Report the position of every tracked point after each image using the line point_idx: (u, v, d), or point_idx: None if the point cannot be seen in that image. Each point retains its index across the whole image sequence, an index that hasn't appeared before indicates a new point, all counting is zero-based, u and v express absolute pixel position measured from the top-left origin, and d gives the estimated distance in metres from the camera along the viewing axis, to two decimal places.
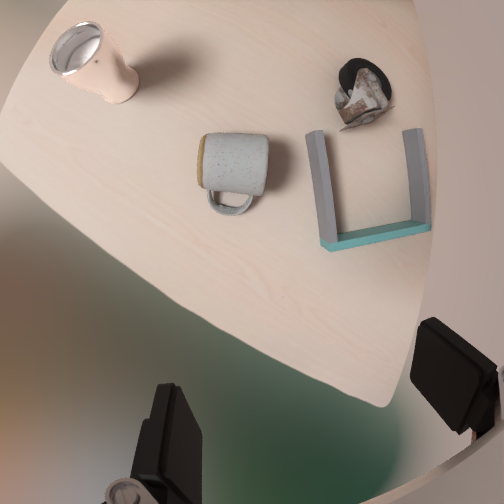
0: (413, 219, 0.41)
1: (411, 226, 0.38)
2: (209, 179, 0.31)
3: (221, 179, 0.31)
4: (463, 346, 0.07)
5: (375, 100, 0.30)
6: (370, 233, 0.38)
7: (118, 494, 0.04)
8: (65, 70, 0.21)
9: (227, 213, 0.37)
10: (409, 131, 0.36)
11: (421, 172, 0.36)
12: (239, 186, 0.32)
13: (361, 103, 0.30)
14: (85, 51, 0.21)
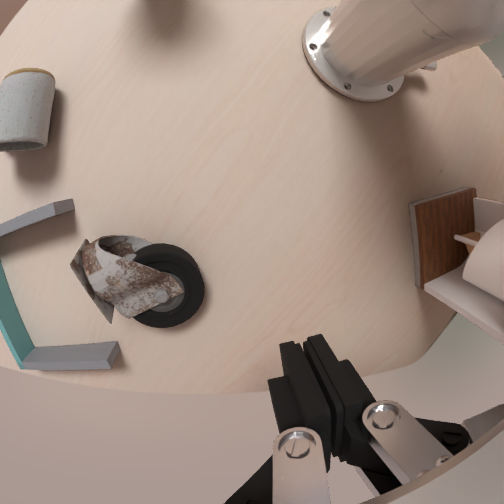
0: (33, 349, 0.28)
1: (13, 342, 0.25)
2: None
3: None
4: (333, 371, 0.08)
5: (106, 291, 0.22)
6: None
7: (287, 447, 0.06)
8: None
9: None
10: (109, 350, 0.28)
11: (62, 360, 0.26)
12: None
13: (94, 265, 0.21)
14: None
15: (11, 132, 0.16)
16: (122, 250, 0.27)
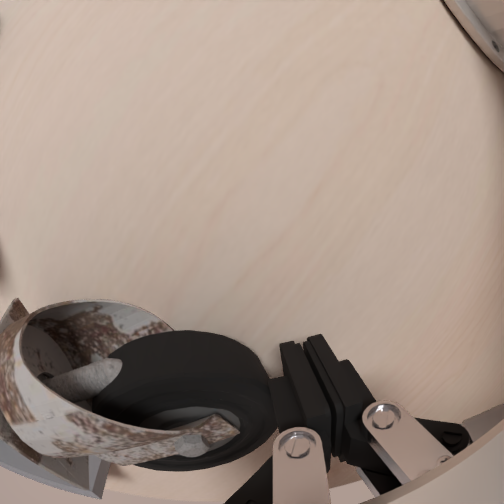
0: None
1: None
2: None
3: None
4: (333, 371, 0.08)
5: (63, 455, 0.06)
6: None
7: (287, 447, 0.06)
8: None
9: None
10: (94, 469, 0.12)
11: (26, 469, 0.10)
12: None
13: (17, 407, 0.05)
14: None
15: None
16: (91, 327, 0.11)
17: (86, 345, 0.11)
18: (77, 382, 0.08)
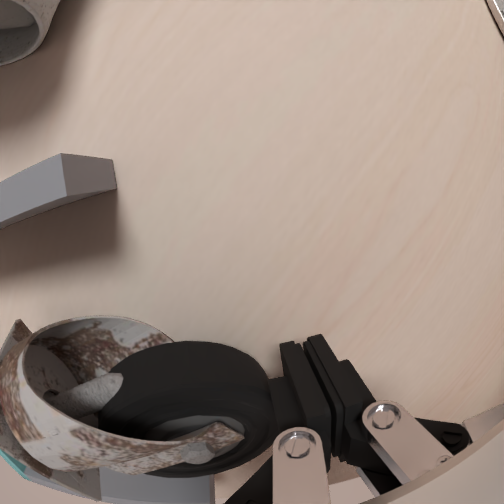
0: None
1: None
2: None
3: None
4: (334, 371, 0.08)
5: (72, 468, 0.06)
6: None
7: (287, 447, 0.06)
8: None
9: None
10: (204, 477, 0.12)
11: (105, 492, 0.10)
12: None
13: (25, 426, 0.05)
14: None
15: None
16: (93, 343, 0.11)
17: (90, 360, 0.11)
18: (81, 397, 0.08)
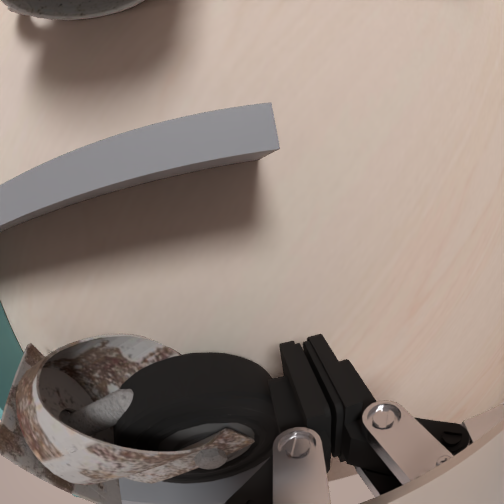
0: None
1: None
2: None
3: None
4: (333, 371, 0.08)
5: (92, 482, 0.06)
6: None
7: (287, 447, 0.06)
8: None
9: None
10: None
11: (191, 499, 0.11)
12: None
13: (44, 445, 0.06)
14: None
15: None
16: (103, 360, 0.11)
17: (102, 377, 0.11)
18: (95, 414, 0.08)
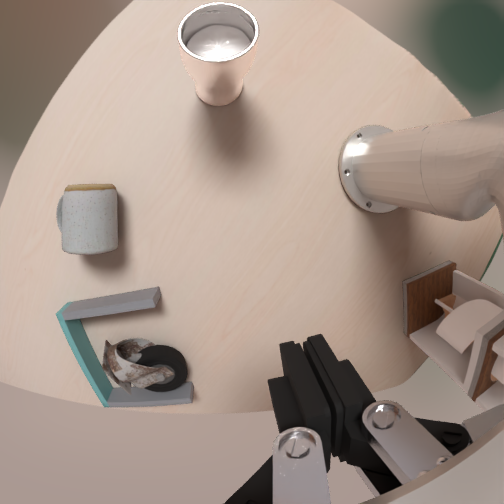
0: (113, 389, 0.40)
1: (100, 388, 0.37)
2: (64, 198, 0.27)
3: (64, 210, 0.27)
4: (333, 371, 0.08)
5: (126, 379, 0.33)
6: (82, 350, 0.35)
7: (287, 447, 0.06)
8: (213, 23, 0.20)
9: (57, 213, 0.32)
10: (188, 389, 0.40)
11: (149, 399, 0.38)
12: (62, 227, 0.28)
13: (117, 367, 0.33)
14: (232, 42, 0.20)
15: (93, 247, 0.28)
16: (131, 345, 0.39)
17: (129, 351, 0.39)
18: (129, 360, 0.35)
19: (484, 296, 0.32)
